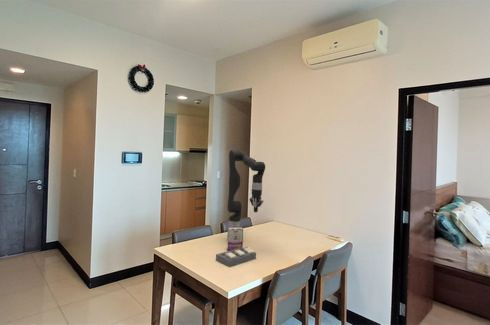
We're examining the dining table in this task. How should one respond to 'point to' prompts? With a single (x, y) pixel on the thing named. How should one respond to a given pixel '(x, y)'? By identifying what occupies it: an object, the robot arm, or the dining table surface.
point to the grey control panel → (234, 261)
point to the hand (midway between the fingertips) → (255, 212)
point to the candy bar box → (235, 238)
